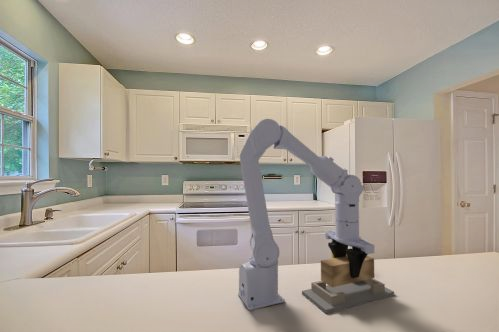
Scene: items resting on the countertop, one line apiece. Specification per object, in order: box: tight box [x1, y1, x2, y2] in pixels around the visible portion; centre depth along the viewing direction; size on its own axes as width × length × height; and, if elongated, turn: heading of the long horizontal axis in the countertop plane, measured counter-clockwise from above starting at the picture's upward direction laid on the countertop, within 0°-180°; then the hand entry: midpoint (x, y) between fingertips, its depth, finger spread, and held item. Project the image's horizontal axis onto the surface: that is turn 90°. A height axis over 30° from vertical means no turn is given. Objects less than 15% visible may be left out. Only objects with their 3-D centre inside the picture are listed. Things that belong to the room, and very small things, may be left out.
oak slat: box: [320, 255, 375, 287], centre depth 59 cm, size 14×4×5 cm, turn 112°
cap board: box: [301, 278, 395, 314], centre depth 59 cm, size 22×9×3 cm, turn 112°
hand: (347, 273), depth 59 cm, fingers closed on oak slat, 4 cm apart
